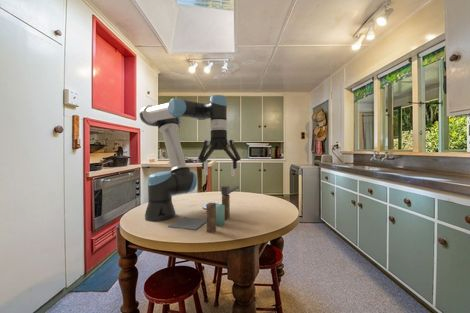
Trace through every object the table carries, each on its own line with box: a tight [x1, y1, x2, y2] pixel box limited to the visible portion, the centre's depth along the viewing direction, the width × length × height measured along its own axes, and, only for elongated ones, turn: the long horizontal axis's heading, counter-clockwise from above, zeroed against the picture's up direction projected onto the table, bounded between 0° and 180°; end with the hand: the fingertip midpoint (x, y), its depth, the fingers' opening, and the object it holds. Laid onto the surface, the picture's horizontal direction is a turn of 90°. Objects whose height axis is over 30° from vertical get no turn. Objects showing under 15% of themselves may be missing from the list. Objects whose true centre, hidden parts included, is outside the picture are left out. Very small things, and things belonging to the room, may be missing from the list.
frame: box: [206, 194, 231, 234], centre depth 104 cm, size 3×21×12 cm, turn 162°
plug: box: [216, 203, 226, 227], centre depth 104 cm, size 5×5×9 cm
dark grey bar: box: [220, 185, 240, 196], centre depth 120 cm, size 3×22×4 cm, turn 162°
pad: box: [167, 216, 207, 231], centre depth 105 cm, size 14×14×1 cm
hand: (219, 175), depth 103 cm, fingers open, 13 cm apart
